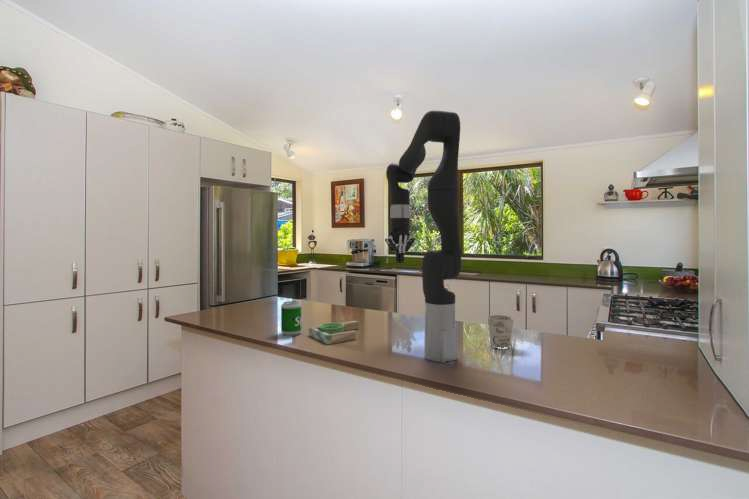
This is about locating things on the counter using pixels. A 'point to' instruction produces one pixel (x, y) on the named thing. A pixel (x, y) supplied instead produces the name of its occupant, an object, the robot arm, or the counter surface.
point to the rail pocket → (335, 337)
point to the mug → (500, 330)
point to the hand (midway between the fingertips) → (399, 263)
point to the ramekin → (332, 328)
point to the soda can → (291, 318)
